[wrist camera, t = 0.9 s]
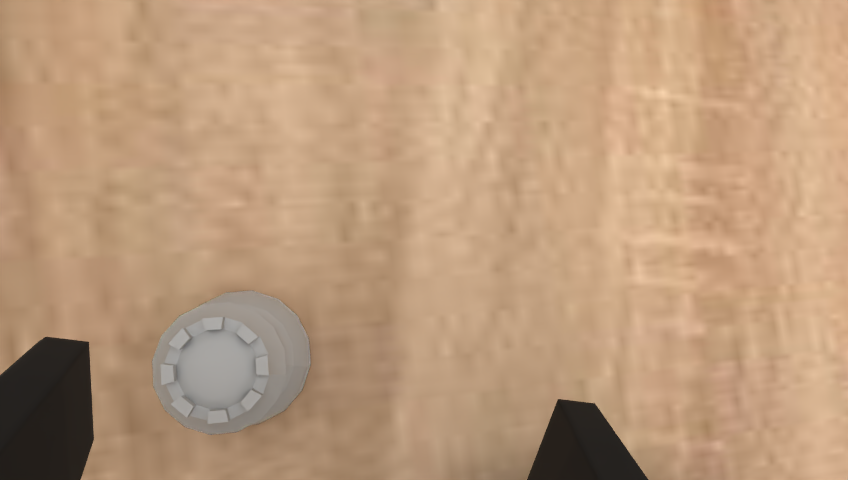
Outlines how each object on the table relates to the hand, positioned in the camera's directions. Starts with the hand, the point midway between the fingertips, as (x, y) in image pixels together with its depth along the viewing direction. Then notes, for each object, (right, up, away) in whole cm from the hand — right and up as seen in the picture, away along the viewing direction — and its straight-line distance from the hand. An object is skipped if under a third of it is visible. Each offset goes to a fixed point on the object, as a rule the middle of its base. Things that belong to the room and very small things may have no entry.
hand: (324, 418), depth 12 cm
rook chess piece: (-5, -1, +14) cm, 15 cm away
